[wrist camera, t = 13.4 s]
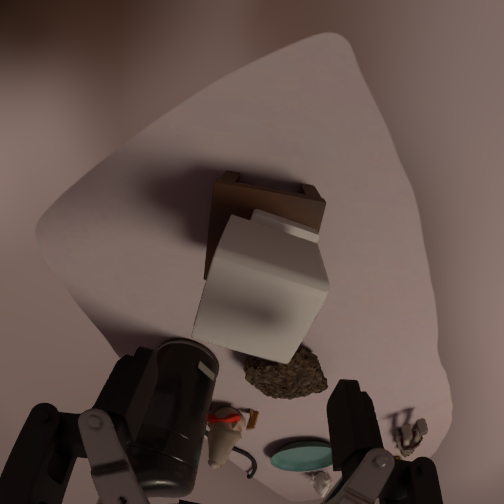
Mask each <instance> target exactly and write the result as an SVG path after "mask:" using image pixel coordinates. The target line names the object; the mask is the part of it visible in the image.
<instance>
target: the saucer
mask: <svg viewBox="0 0 504 504" xmlns="http://www.w3.org/2000/svg"><path fill="white" fill-rule="evenodd" d="M270 461H271V464H272V465H273V466H275V467H277V468H279V469H282V470H286V471H296V472H299V471H300V472H301V471H313V470H318V469H322V468H325V467H328V466H330V465H332V464H333V462H332V453H331V446H330V445H328V444H326V443H323V442H318V441H302V442H296V443H292V444H289V445H286V446H284V447H283V448H281V449H280V450H278V451H277V452H276V453H275V454H274V455H273V456H272V458H271V460H270Z"/></svg>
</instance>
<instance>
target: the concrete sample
mask: <svg viewBox="0 0 504 504" xmlns="http://www.w3.org/2000/svg"><path fill="white" fill-rule="evenodd" d="M317 358H318V357H317V356H316V355H314V354H311V353H310V352H309V350H308V349H305V348H304V347H298V349H297V350H296V352H295V354H294V355H293V357H292V358H291V360H290V362H289V363H288V364H284V363H280V362H276V361H272V360H268V359H264V358H260V357H257V356H253V355H251V356H249V357H247V359H246V361H245V363H244V371H245V373H246V376H245V379H246V380H247V381H248V382H249V383H251V384H252V385H254V386H255V388H256V389H259V390H260V391H261V392H263V394H264V395H266V396H272V398H275V399H276V398H281V399H282V398H284V399H286V398H287V399H290V400H291V399H293V398H295V397H296V398H298V397H300V396H304V397H305V396H307V395H309V394H311V393H313V392H314V393H320V392H322V391H323V390H326V389H327V388H328V385H327V379H326V378H325V377H324V375H323V372H322V371H321V367H320V363H319V360H318V359H317Z"/></svg>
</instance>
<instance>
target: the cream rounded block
mask: <svg viewBox="0 0 504 504" xmlns="http://www.w3.org/2000/svg"><path fill="white" fill-rule="evenodd" d="M318 240H319V235H318V232H317V230H316V229H314V228H311V227H308V226H306V225H303V224H300V223H297V222H294V221H291V220H288V219H286V218H283V217H280V216H277V215H274V214H271V213H268V212H265V211H262V210H259V209H255V210H254V211H253V214H252V217H251V220H247V219H244V218H241V217H238V216H235V215H231V216H230V219H229V221H228V223H227V225H226V227H225V230H224V232H223V234H222V237H221V239H220V241H219V244H218V246H217V248H216V251H215V253H214V256H213V259H212V262H211V265H210V269H209V272H208V276H207V279H206V283H205V286H204V290H203V293H202V297H201V300H200V304H199V307H198V311H197V315H196V318H195V322H194V328H193V331H192V336H191V337H193V338H196V339H199V340H202V341H205V342H208V343H212V344H215V345H218V346H222V347H225V348H228V349H232V350H235V351H239V352H242V353H246V354H249V355H253V356H257V357H260V358H264V359H268V360H272V361H276V362H280V363H284V364H288V363H289V362H290V360H291V358H292V357H293V355H294V354H295V352H296V350H297V349H298V347H299V345H300V344H301V342H302V340H303V339H304V337H305V335H306V334H307V332H308V330H309V328H310V327H311V325H312V323H313V322H314V320H315V318H316V316H317V315H318V313H319V311H320V309H321V307H322V306H323V304H324V302H325V300H326V298H327V295H328V292H329V280H328V277H327V273H326V270H325V267H324V263H323V260H322V257H321V253H320V250H319V247H318V244H317V242H318Z"/></svg>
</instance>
